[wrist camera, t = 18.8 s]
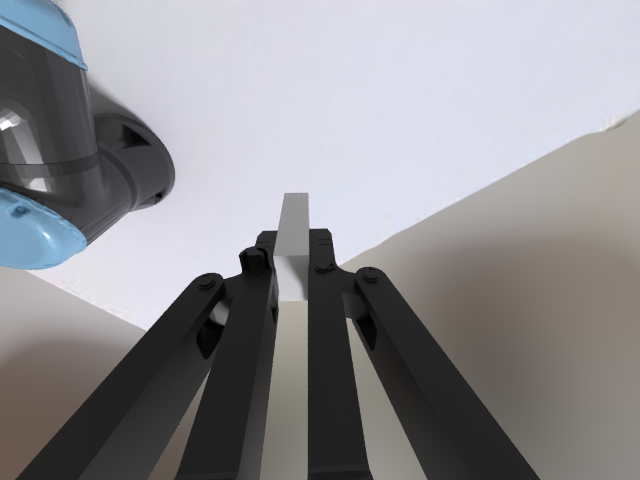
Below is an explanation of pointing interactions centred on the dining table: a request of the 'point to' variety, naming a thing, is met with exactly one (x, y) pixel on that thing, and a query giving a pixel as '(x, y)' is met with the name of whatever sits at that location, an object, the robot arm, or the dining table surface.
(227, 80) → the dining table surface
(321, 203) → the dining table surface
